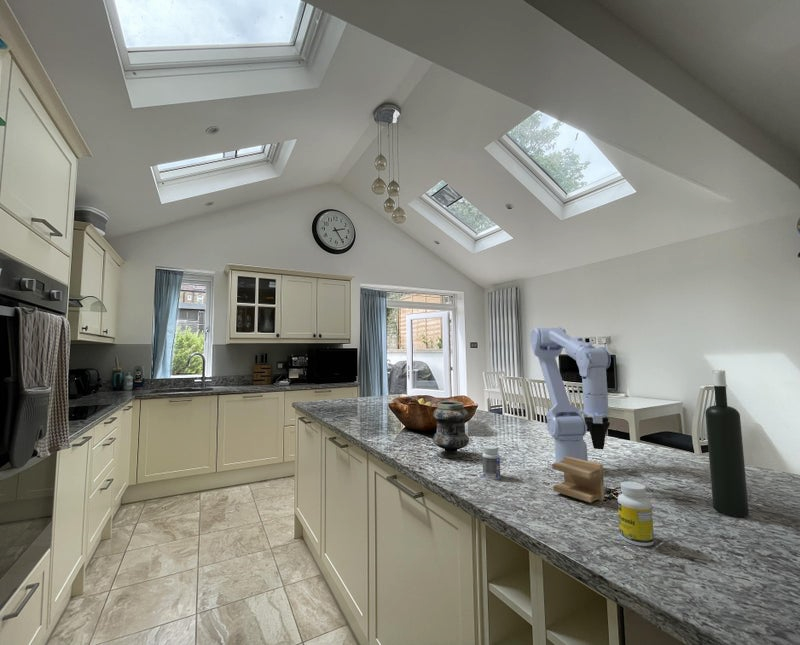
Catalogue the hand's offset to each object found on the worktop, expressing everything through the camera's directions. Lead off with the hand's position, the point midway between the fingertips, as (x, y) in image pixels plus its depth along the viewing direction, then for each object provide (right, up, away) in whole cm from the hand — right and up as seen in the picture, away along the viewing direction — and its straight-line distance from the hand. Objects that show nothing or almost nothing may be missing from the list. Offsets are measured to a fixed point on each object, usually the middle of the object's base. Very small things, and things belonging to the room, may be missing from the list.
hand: (598, 447), depth 96 cm
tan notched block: (-11, -5, -9) cm, 15 cm away
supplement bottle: (-8, -8, -27) cm, 30 cm away
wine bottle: (+20, -9, -16) cm, 27 cm away
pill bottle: (-26, -11, +7) cm, 29 cm away
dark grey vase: (-34, -13, +29) cm, 46 cm away
